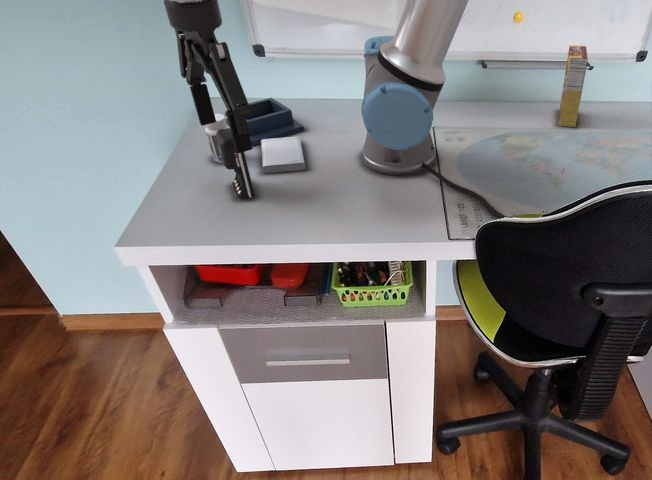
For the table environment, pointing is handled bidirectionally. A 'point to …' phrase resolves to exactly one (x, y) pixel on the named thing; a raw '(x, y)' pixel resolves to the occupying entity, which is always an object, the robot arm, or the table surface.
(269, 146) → the hard drive
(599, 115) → the table surface
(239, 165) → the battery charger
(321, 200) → the table surface
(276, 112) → the holder
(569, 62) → the candy box
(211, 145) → the pill bottle
